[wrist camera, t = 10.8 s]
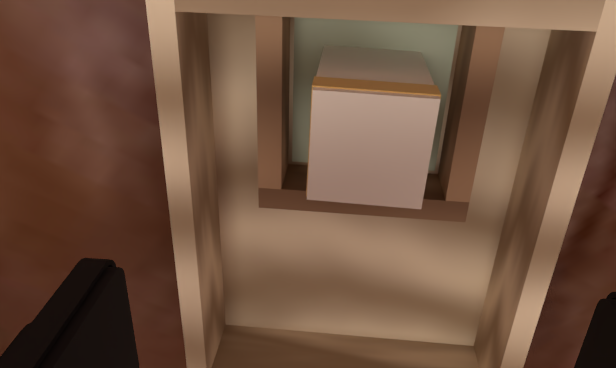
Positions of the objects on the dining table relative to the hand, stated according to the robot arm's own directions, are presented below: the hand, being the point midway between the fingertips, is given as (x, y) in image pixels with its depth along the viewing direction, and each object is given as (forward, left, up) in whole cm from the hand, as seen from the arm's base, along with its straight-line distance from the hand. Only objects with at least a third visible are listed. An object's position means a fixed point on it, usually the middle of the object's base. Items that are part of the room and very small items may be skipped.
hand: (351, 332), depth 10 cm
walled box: (-5, -1, -15) cm, 16 cm away
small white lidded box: (0, 0, -14) cm, 14 cm away
